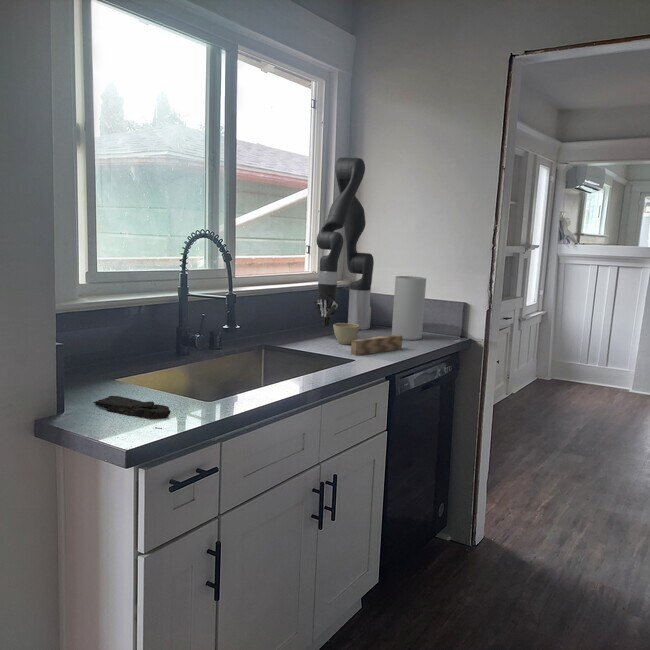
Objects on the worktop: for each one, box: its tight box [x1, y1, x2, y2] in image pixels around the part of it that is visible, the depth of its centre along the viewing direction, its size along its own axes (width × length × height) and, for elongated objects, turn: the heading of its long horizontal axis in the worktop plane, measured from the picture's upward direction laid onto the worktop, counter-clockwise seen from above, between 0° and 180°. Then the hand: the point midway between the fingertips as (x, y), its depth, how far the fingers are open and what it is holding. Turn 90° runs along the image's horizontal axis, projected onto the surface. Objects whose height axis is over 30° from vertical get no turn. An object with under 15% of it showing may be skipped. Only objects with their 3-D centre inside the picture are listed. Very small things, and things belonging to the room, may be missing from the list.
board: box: [350, 334, 403, 356], centre depth 227 cm, size 24×2×5 cm, turn 131°
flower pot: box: [333, 322, 359, 345], centre depth 239 cm, size 10×10×7 cm
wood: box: [93, 395, 172, 420], centre depth 146 cm, size 22×8×3 cm, turn 62°
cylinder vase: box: [391, 275, 427, 341], centre depth 257 cm, size 12×12×25 cm
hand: (325, 326), depth 248 cm, fingers closed
